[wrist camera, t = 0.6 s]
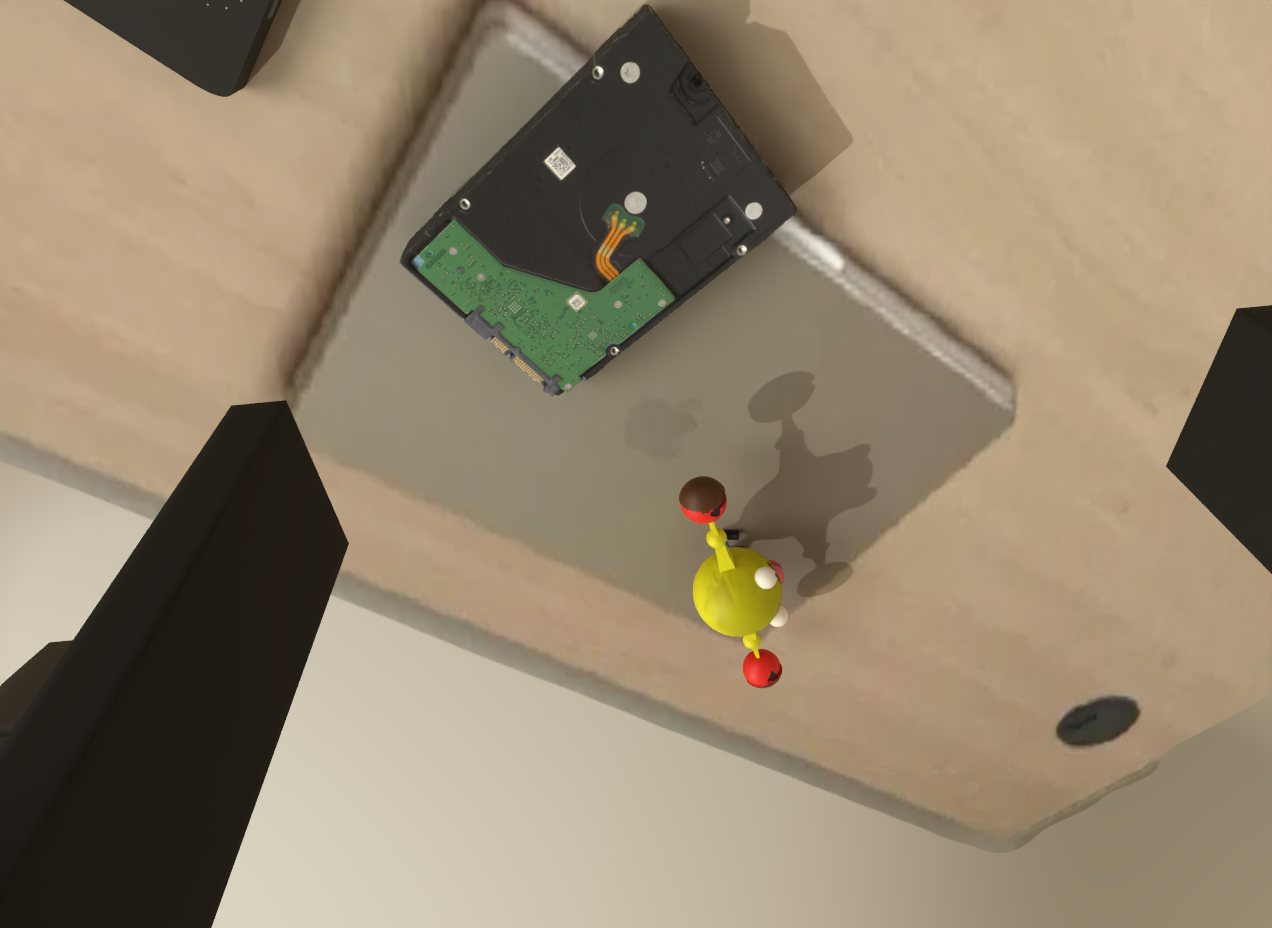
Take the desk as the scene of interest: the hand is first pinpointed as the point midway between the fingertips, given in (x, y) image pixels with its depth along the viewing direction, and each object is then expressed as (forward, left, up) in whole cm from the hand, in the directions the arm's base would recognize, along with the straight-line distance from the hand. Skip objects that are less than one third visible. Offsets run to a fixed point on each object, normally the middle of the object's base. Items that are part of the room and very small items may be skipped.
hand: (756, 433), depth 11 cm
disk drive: (+5, -3, -26) cm, 27 cm away
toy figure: (+27, +2, -26) cm, 38 cm away
